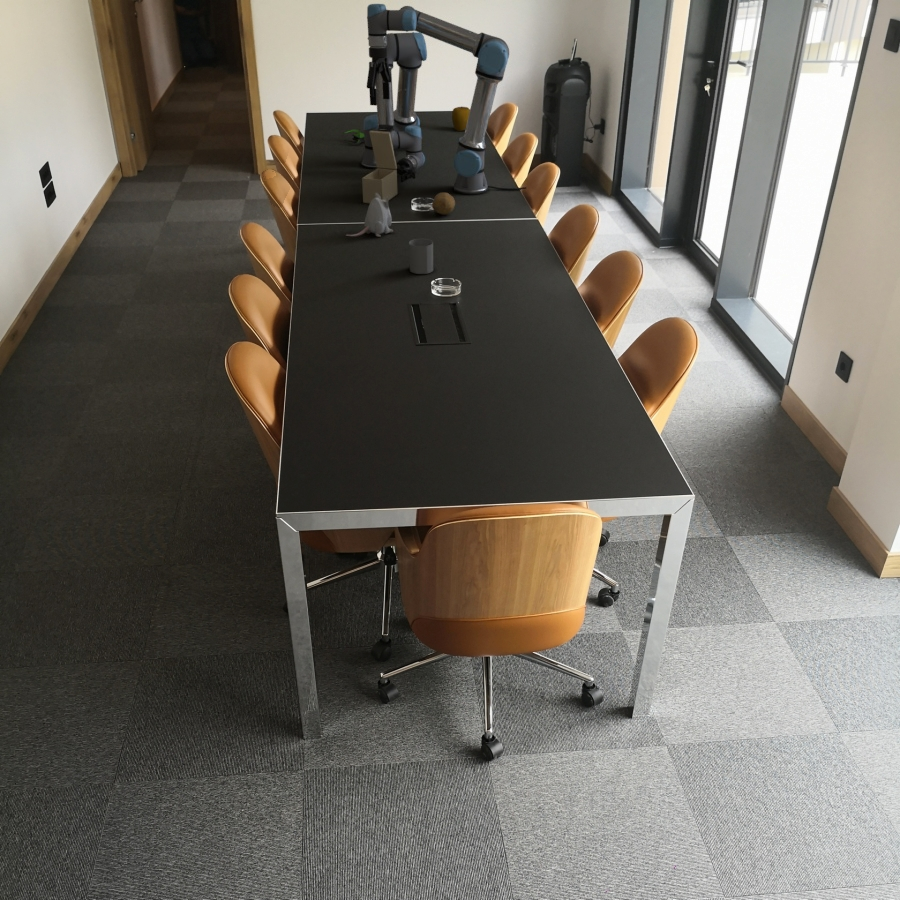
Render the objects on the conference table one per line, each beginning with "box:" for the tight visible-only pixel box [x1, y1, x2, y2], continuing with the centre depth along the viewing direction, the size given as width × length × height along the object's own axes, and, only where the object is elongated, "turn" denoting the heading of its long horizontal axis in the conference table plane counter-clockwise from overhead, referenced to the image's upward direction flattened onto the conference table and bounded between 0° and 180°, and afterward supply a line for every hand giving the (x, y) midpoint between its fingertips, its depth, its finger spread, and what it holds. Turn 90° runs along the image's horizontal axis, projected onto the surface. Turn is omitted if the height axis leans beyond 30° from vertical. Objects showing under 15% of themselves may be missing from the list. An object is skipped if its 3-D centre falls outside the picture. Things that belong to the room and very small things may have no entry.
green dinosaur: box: [343, 129, 365, 146], centre depth 465 cm, size 6×13×30 cm
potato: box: [431, 192, 456, 216], centre depth 360 cm, size 10×14×8 cm
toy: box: [346, 193, 394, 238], centre depth 334 cm, size 9×24×15 cm, turn 137°
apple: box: [451, 105, 470, 132], centre depth 487 cm, size 11×11×13 cm
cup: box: [408, 237, 434, 275], centre depth 305 cm, size 8×8×10 cm
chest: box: [361, 168, 398, 204], centre depth 378 cm, size 17×9×10 cm, turn 161°
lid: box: [369, 124, 397, 169], centre depth 377 cm, size 18×9×9 cm
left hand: (387, 177), depth 386 cm, fingers open, 13 cm apart
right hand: (380, 102), depth 363 cm, fingers open, 13 cm apart
